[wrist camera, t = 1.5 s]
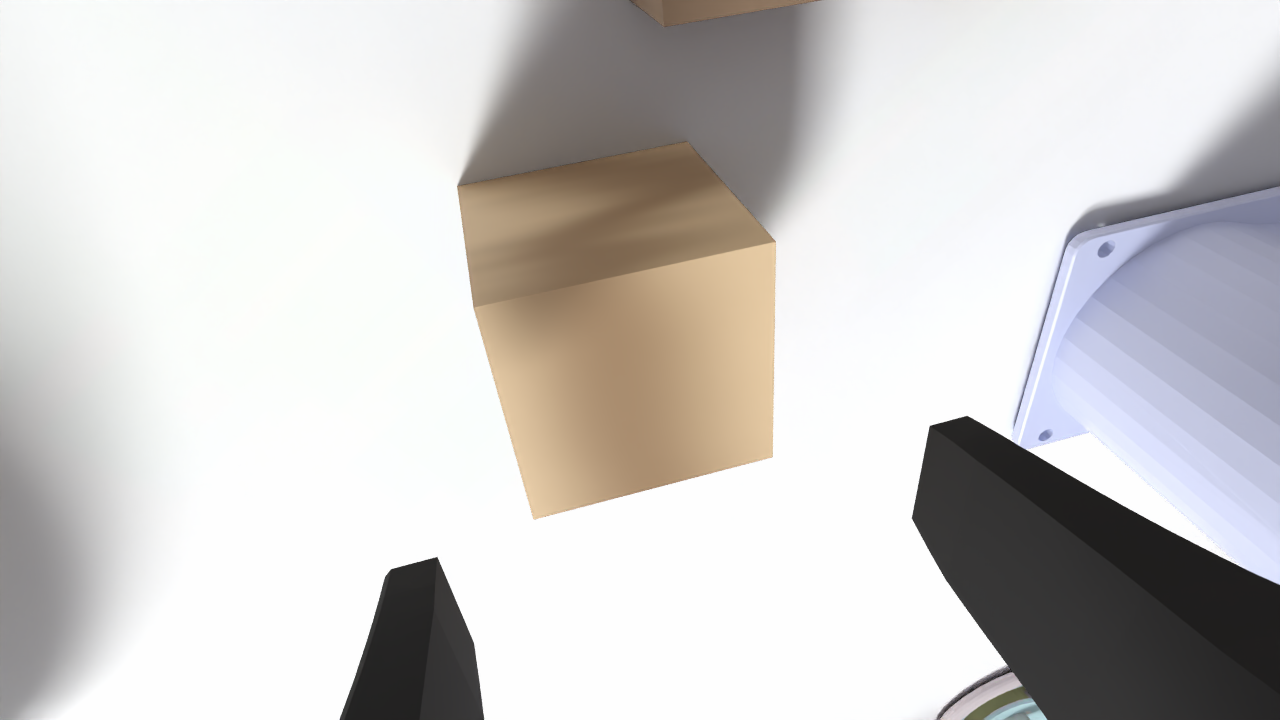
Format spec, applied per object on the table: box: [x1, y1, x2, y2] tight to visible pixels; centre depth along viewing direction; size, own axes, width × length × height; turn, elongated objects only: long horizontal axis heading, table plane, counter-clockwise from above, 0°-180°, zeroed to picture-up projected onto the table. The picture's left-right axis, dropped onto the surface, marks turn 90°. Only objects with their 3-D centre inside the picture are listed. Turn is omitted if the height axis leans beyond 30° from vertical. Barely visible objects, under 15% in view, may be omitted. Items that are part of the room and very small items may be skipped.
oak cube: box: [457, 142, 776, 519], centre depth 15 cm, size 5×5×5 cm
